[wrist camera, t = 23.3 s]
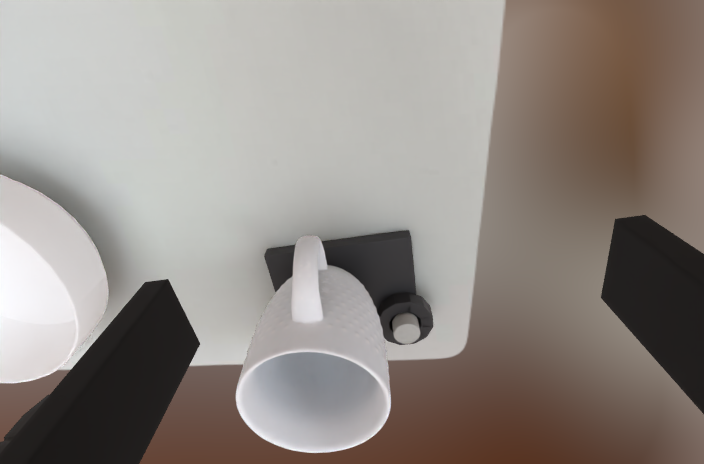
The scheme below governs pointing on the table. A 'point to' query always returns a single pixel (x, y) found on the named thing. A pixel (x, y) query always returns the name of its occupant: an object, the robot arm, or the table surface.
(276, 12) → the table surface
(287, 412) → the mug
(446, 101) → the table surface
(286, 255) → the scale
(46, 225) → the bowl
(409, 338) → the button
